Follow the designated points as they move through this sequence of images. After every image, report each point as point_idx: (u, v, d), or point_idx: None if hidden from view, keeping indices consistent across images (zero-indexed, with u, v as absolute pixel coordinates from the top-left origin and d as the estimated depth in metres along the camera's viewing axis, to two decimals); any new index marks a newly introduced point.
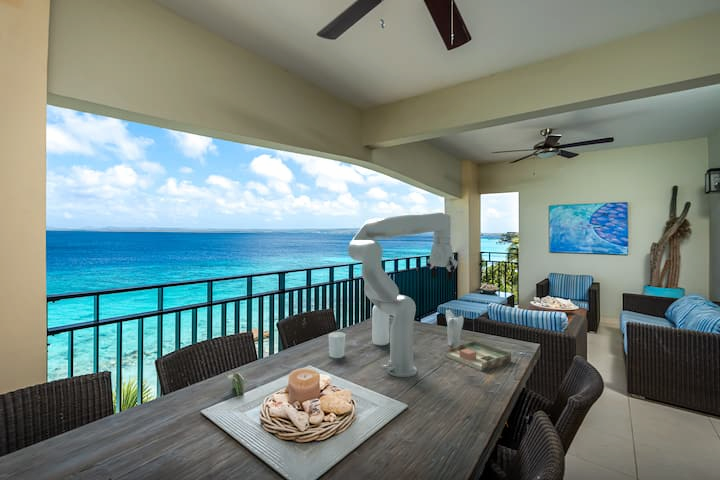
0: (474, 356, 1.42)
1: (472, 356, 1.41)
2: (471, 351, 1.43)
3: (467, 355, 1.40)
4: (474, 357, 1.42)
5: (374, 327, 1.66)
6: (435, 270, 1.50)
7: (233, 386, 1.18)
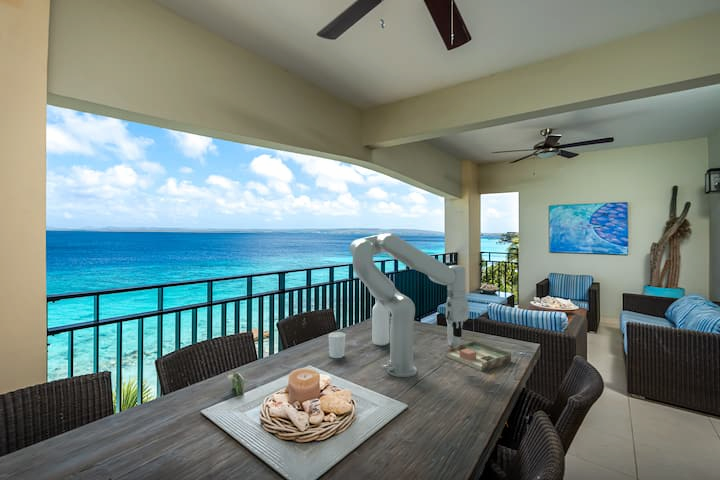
0: (474, 356, 1.42)
1: (472, 356, 1.41)
2: (471, 351, 1.43)
3: (467, 355, 1.40)
4: (474, 357, 1.42)
5: (374, 327, 1.66)
6: None
7: (233, 386, 1.18)
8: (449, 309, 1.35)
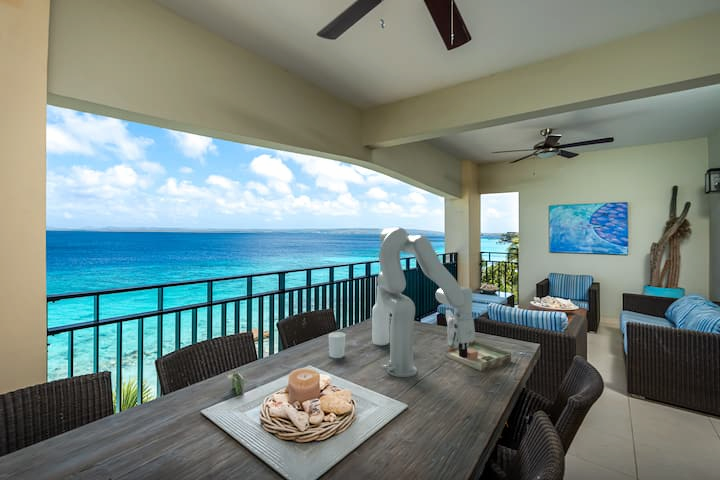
0: (475, 355, 1.42)
1: (473, 356, 1.41)
2: (473, 351, 1.43)
3: (469, 354, 1.41)
4: (475, 356, 1.42)
5: (374, 327, 1.66)
6: None
7: (233, 386, 1.18)
8: (456, 330, 1.38)
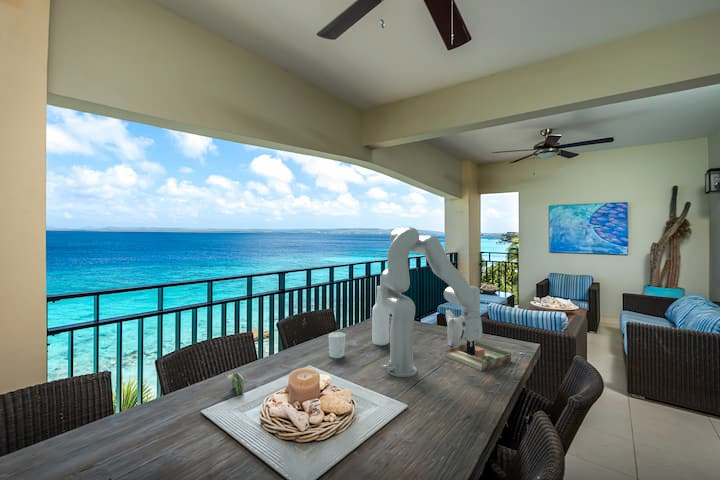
0: (483, 353, 1.45)
1: (480, 353, 1.44)
2: (480, 348, 1.46)
3: (476, 352, 1.44)
4: (483, 354, 1.45)
5: (374, 327, 1.66)
6: None
7: (233, 386, 1.18)
8: (464, 328, 1.41)
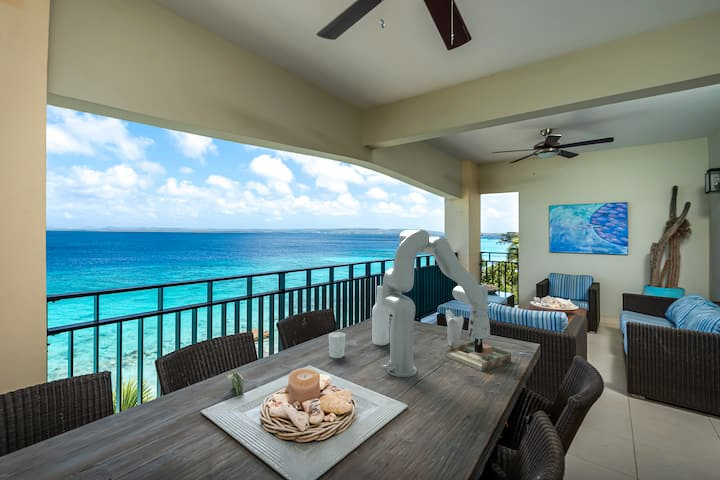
0: (490, 351, 1.48)
1: (488, 351, 1.47)
2: (487, 346, 1.49)
3: (484, 350, 1.47)
4: (490, 352, 1.48)
5: (374, 327, 1.66)
6: None
7: (233, 386, 1.18)
8: (472, 327, 1.44)
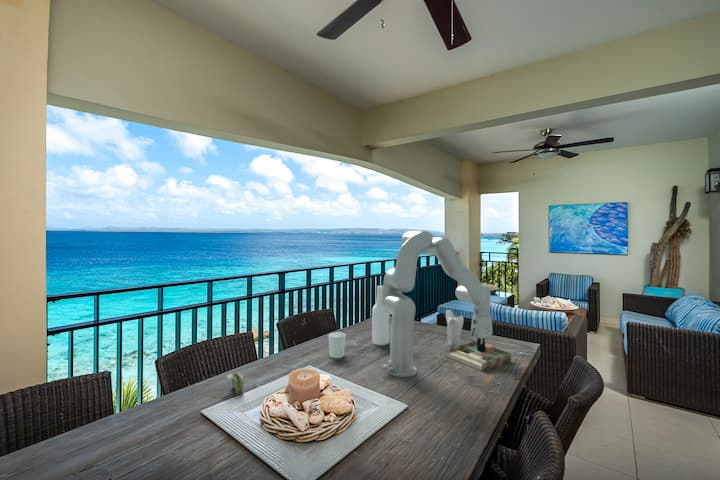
0: (492, 350, 1.49)
1: (490, 350, 1.49)
2: (489, 345, 1.50)
3: (486, 349, 1.48)
4: (492, 351, 1.49)
5: (374, 327, 1.66)
6: None
7: (232, 386, 1.18)
8: (474, 326, 1.45)
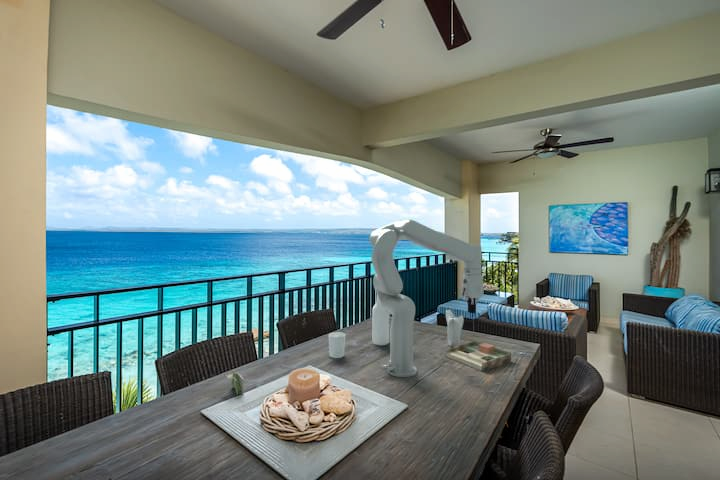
0: (492, 350, 1.49)
1: (490, 350, 1.49)
2: (489, 345, 1.50)
3: (486, 349, 1.48)
4: (492, 351, 1.49)
5: (374, 327, 1.66)
6: None
7: (232, 386, 1.18)
8: (465, 285, 1.41)
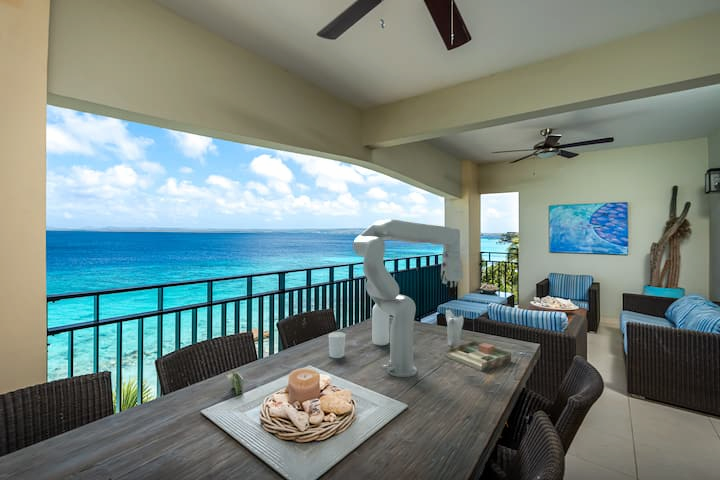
0: (492, 350, 1.49)
1: (490, 350, 1.49)
2: (489, 345, 1.50)
3: (486, 349, 1.48)
4: (492, 351, 1.49)
5: (374, 327, 1.66)
6: None
7: (232, 386, 1.18)
8: (444, 269, 1.44)
